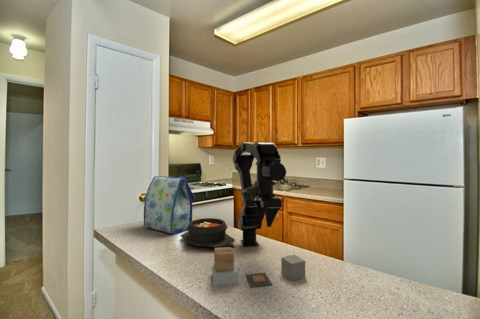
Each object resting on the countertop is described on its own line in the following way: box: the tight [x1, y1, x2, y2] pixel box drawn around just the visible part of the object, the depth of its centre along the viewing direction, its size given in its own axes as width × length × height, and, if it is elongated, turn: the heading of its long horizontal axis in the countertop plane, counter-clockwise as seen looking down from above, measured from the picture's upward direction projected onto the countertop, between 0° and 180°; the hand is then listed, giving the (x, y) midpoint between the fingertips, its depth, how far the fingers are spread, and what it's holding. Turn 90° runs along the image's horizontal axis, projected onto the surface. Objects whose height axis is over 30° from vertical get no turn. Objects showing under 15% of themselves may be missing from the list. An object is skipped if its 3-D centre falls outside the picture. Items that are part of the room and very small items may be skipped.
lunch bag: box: [143, 175, 196, 235], centre depth 123 cm, size 22×17×26 cm
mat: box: [245, 272, 273, 288], centre depth 71 cm, size 7×6×1 cm
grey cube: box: [280, 254, 306, 282], centre depth 74 cm, size 5×5×5 cm
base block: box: [211, 261, 240, 286], centre depth 72 cm, size 7×7×4 cm
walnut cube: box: [213, 246, 235, 272], centre depth 72 cm, size 5×5×5 cm
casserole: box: [180, 217, 236, 248], centre depth 103 cm, size 25×19×8 cm
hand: (265, 223), depth 86 cm, fingers open, 9 cm apart
